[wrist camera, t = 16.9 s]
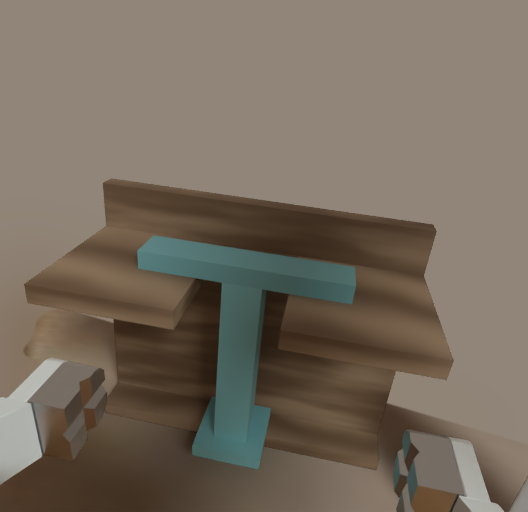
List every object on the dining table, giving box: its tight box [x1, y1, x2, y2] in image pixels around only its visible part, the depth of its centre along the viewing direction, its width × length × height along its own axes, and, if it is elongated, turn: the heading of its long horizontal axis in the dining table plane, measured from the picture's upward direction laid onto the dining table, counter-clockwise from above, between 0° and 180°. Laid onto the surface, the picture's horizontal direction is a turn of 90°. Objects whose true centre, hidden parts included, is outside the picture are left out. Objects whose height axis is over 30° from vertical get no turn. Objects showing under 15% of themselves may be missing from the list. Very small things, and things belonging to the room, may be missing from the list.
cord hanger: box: [137, 235, 356, 470], centre depth 36 cm, size 6×16×18 cm, turn 80°
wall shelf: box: [24, 179, 454, 470], centre depth 36 cm, size 12×28×24 cm, turn 80°
